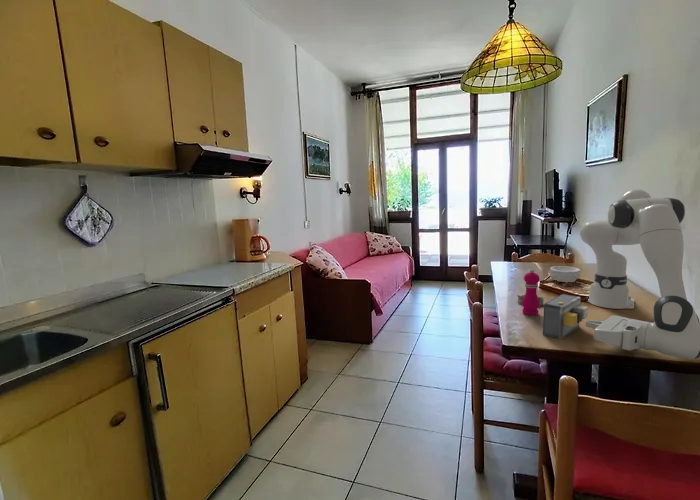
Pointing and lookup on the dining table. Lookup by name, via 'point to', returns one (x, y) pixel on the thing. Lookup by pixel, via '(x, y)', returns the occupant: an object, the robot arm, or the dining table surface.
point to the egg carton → (524, 295)
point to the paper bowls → (565, 273)
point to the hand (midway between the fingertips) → (587, 323)
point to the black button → (579, 314)
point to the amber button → (570, 319)
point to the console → (559, 315)
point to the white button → (583, 310)
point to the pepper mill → (531, 294)
